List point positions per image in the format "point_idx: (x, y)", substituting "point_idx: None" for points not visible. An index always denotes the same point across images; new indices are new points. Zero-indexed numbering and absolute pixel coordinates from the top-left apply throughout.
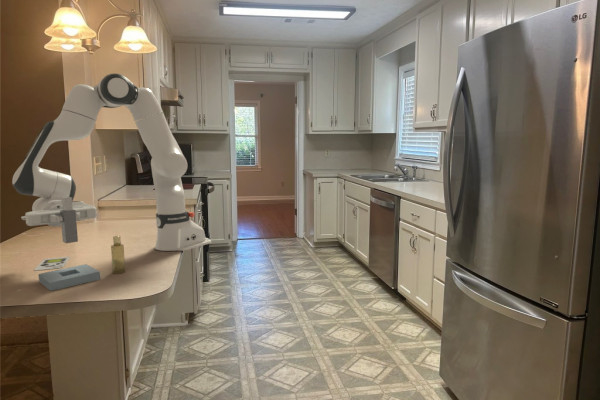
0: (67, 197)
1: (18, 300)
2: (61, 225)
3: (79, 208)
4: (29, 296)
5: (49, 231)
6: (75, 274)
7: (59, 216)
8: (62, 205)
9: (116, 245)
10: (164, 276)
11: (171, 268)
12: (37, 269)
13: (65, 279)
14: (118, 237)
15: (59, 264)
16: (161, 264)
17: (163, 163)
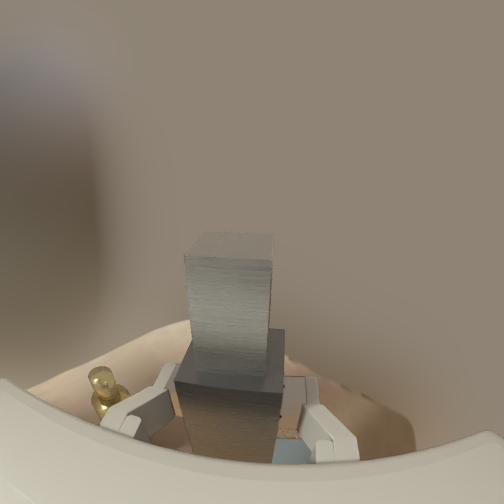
0: (225, 243)
1: (393, 431)
2: (272, 458)
3: (43, 444)
4: (374, 442)
5: None
6: None
7: (302, 381)
8: (267, 338)
9: (119, 390)
10: (126, 353)
11: (79, 369)
12: None
13: (295, 439)
14: (104, 367)
15: None
16: (56, 400)
17: None
